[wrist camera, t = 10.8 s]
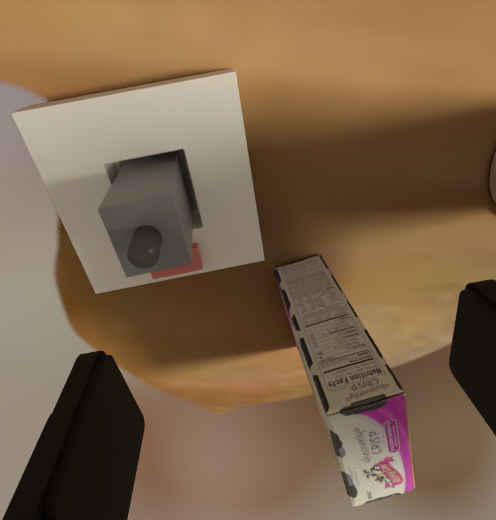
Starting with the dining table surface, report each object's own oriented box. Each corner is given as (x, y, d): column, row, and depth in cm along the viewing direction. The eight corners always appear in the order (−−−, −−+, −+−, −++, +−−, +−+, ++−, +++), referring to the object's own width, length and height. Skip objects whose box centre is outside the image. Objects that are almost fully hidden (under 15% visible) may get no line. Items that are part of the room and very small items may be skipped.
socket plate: (231, 68, 25) (236, 72, 22) (259, 242, 33) (266, 265, 29) (31, 105, 25) (5, 115, 22) (104, 272, 32) (93, 299, 29)
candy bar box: (340, 333, 40) (418, 491, 26) (296, 347, 40) (350, 511, 26) (322, 249, 34) (410, 395, 20) (271, 265, 34) (323, 420, 20)
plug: (177, 150, 27) (168, 208, 18) (192, 206, 30) (191, 282, 20) (125, 161, 27) (87, 225, 18) (144, 216, 30) (120, 297, 20)
